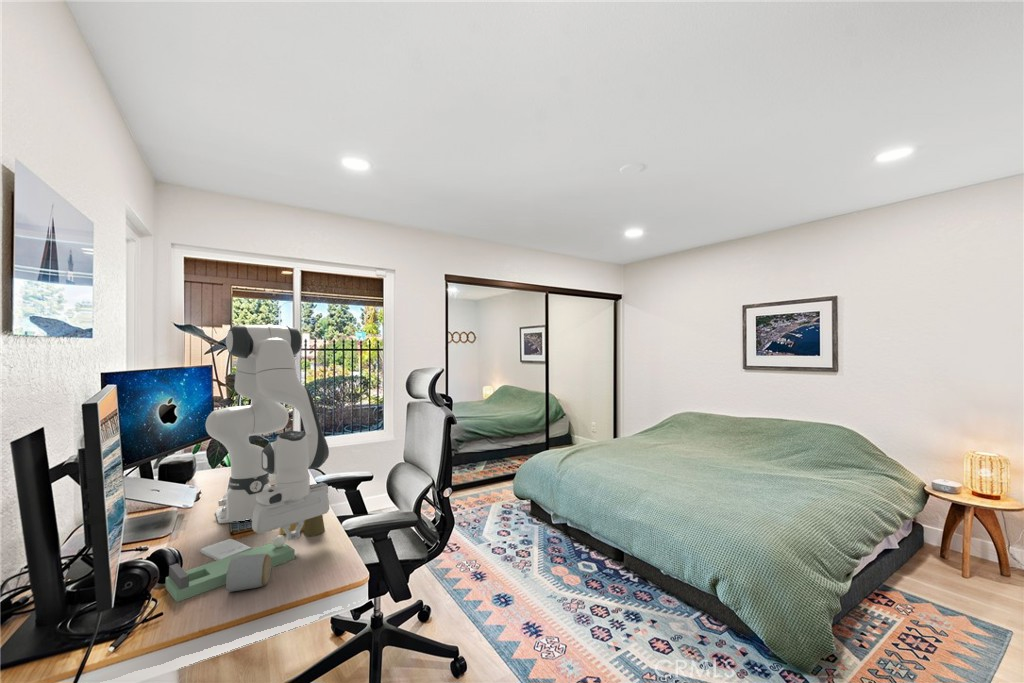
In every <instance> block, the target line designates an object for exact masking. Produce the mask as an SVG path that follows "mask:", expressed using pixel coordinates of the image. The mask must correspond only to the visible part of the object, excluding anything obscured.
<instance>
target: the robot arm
mask: <svg viewBox="0 0 1024 683" xmlns="http://www.w3.org/2000/svg"><path fill="white" fill-rule="evenodd" d="M302 344H303V342H302V335H301V332H300V330H298V328H296V327H293V326H288V325H286V326H281V325H274V324H253V325H250V324H249V325H245V324H240V325H234V326H232V327H231V328H229V330H228V332H227V335H226V338H225V346H226V348H227V352H228V353H229V354H230V356H232V357H236V358H237V360H236V364H235V365H236V366H235V376H234V385H233V386H234V391H235V392H236V393H237V394H238V395H240V396H241V397H242V398H245V399H249V400H251V403H250V404H248V405H247V404H246V405H237V406H226V407H223V408H219V409H215V410H213V411H211V413H209V414H208V416H207V418H206V420H205V423H204V424H205V426H204V427H205V430H206V432H207V434H208V436H210V437H211V438H212V439H214V440H216V441H218V442H219V443H220V444H222V445H223V447H225V449H226V451H227V452H228V455H229V462H230V473H231V474H230V477H229V481H228V489H227V490H226V492H224V494H223V496H222V499H218V503H217V504H218V507H220V508H217V509H215V513H214V514H215V516H216V519H217V522H218V524H227V523H233V522H232V521H238V520H246V519H252V520H251V529H252V531H253V532H254V533H256V534H258V535H261V534H264V533H267V532H270V531H271V532H272V531H273V530H277V529H280V528H281V527H282V529H283V530H284V531H285V533H286V534H285V535H286V537H285V538H286V541H292V540H295V539H298V538H300V535H301V534H300V532H301V531H300V530H301V528H302V526H303V524H304V520H307V519H310V518H313V517H316V516H320V515H325V514H328V512H329V510H330V501H329V486H328V484H327V483H325V482H323V481H322V482H318V483H314V484H310V483H311V481H310V480H311V479H310V478H311V477H310V472H309V470H310V469H319V468H320V467H322V466H323V464H324V463H326V461H327V459H328V458H329V453H330V451H329V450H330V449H329V446H328V442H327V439H326V437H325V435H324V433H323V430H322V426H321V423H320V419H319V416H318V413H317V409H316V406H315V403H314V399H313V397H312V396H313V395H312V394H311V391H310V389H309V388H308V387H307V386H304V385H303V384H302V383H301V381H300V380H299V376H298V375H297V367H296V360H295V356H296V355H297V354H298V353H299V352H300V351H301V349H302ZM283 404H284V405H283ZM285 405H287V406H290V407H293V409H294V408H295V409H296V410H297V411H298V412H299V414H300V417H301V420H302V425H303V429H304V431H305V432H302V431H301V430H300V431H297V430H289V431H284V432H281V433H280V434H279V435H277V437H276V440H275V441H273V442H269V443H268V444H267V445H265V446H264V447H262V446H260V445H256V444H252V443H251V442H250V440H249V439H250V437H252V436H257V435H258V436H259V435H266V434H273V433H275V432H278V431H280V430H283V429H285V428H286V426H287V425H288V423H289V419H290V417H289V416H290V415H289V411H288V409H287V408H286V407H285ZM269 474H270V475H276V476H275V480H274V484H273V485H271V484H269V483H270V475H269ZM294 523H296V524H297V526H296V528H295V530H294V531H292V532H290V531H289V528H290V525H291V524H294Z"/></svg>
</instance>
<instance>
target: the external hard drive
mask: <svg viewBox="0 0 1024 683" xmlns="http://www.w3.org/2000/svg"><path fill="white" fill-rule="evenodd" d="M251 549H253V547H252V546H249V545H246V544H244V543H242V542H240V541H238V540H235V539H234V538H228V539H227V538H226V539H225V540H222V541H220V542H216V543H212V544H210V545H207V546H205V547H202V548H200V552H201V553H200V552H199V553H200V554H203V555H205V556H207V557H209V558H211V559H212V560H213V559H214V560H215V561H217V560H220V559H223V558H226V557H230V556H233V555H236V554H239V553H242V552H245V551H248V550H251Z"/></svg>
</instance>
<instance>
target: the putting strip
mask: <svg viewBox="0 0 1024 683" xmlns="http://www.w3.org/2000/svg"><path fill="white" fill-rule="evenodd" d="M295 551H296V550H295V548H293V547H292V546H290V545H288V544H286V543H285V544H284V545H283V546H282V547H280V548H276V547H274V546H273V541H272V542H270V543H265V544H263V545H261V546H260V545H259V546H258V547H254V548H252V549H251V550H248V551H245V552H242V553H239V554H236V555H233V556H238V555H254V554H268V555H270V557H271V568H273V567H276V566H279V565H281V564H285V563H286V562H289V561H292V560H295V559H296V558H295V554H296V553H295ZM233 556H230V557H226V558H223V559H220V560H215V561H211V562H209V563H208V562H207V563H206V564H202V565H200V566H197V567H194V568H190V569H187V570H184V568H183V567H181V565H180V564H179V563H174V564H171V565H169V568H168V569H169V570H168V571H169V572H168V574H169V575H168V576H166V577H165V589H166V590H167V592H168V593H169V594H170V596H171V597H172V599H173V600H174V602H176V603H179V602H181V601H184V600H186V599H189V598H191V597H194V596H197V595H199V594H200V595H201V594H203V593H206V592H208V591H210V590H213V589H216V588H219V587H221V586H224V585H225V586H226V577H227V570H228V566H229V563H230V561H231V559H232V557H233Z"/></svg>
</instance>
